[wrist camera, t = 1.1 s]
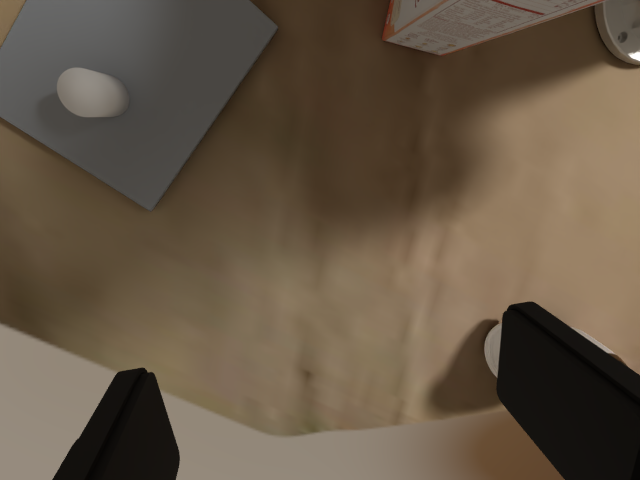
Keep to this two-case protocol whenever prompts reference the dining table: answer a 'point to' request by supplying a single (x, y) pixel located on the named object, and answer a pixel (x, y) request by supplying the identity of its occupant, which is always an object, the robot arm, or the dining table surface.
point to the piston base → (127, 81)
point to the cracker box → (467, 21)
